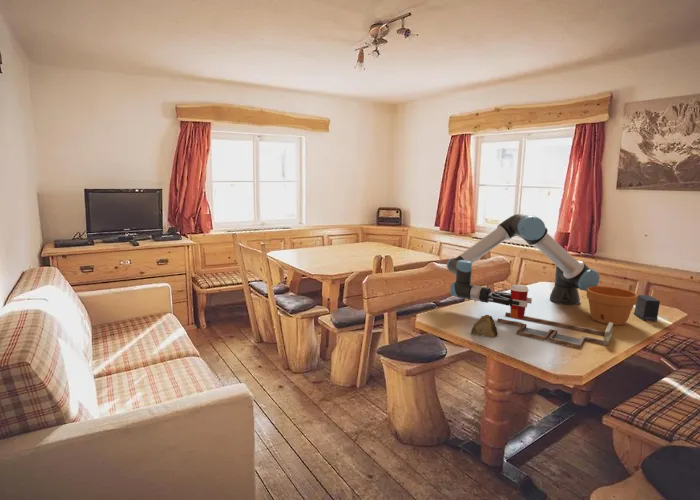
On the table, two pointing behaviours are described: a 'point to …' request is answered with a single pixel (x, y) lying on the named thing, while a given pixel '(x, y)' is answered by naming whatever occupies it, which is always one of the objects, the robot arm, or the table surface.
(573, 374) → the table surface
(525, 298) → the coffee cup
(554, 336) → the channel
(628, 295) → the flower pot
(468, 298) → the robot arm
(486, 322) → the rock
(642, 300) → the small box
